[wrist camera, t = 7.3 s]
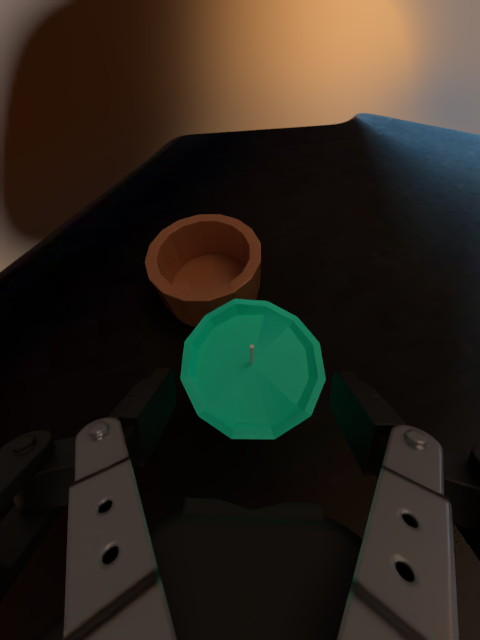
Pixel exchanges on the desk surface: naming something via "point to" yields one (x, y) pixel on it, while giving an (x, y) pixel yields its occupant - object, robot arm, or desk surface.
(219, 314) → the candle
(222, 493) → the desk surface
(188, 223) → the holder
